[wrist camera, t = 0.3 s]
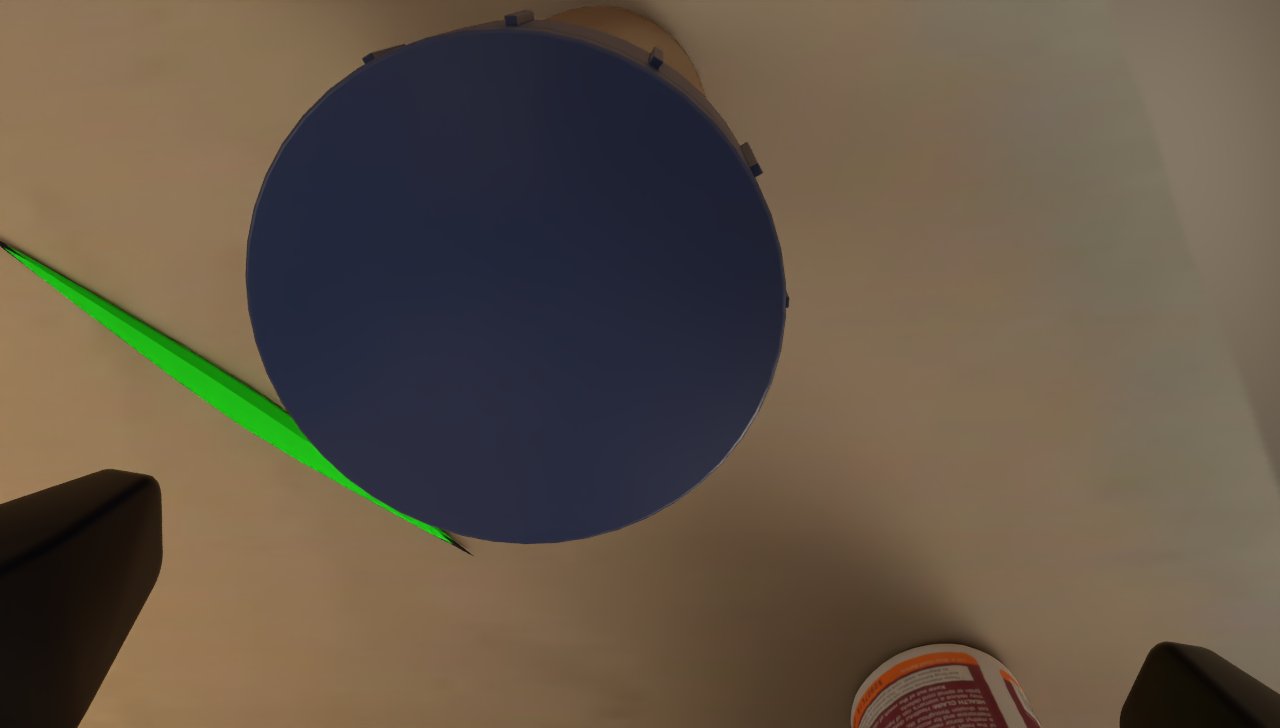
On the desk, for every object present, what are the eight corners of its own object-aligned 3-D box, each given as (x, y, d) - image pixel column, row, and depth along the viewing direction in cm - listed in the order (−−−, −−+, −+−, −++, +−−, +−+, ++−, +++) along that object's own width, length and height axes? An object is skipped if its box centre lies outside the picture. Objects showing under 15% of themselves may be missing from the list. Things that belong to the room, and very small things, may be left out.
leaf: (468, 558, 26) (462, 577, 25) (-22, 236, 23) (-46, 246, 22) (487, 537, 25) (481, 555, 25) (-7, 207, 22) (-30, 216, 22)
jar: (672, 246, 22) (681, 550, 10) (474, 191, 22) (257, 443, 10) (733, 41, 20) (826, 131, 9) (520, -22, 20) (320, -16, 8)
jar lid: (691, 509, 12) (696, 594, 10) (280, 405, 11) (216, 476, 10) (832, 98, 10) (866, 123, 8) (346, -45, 9) (280, -49, 8)
